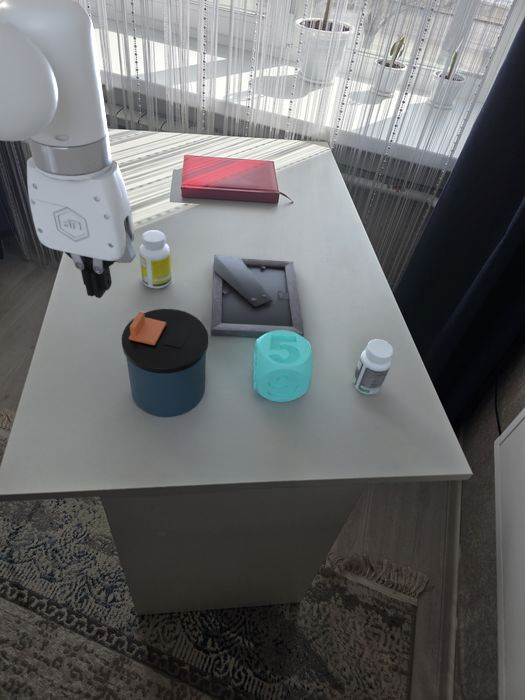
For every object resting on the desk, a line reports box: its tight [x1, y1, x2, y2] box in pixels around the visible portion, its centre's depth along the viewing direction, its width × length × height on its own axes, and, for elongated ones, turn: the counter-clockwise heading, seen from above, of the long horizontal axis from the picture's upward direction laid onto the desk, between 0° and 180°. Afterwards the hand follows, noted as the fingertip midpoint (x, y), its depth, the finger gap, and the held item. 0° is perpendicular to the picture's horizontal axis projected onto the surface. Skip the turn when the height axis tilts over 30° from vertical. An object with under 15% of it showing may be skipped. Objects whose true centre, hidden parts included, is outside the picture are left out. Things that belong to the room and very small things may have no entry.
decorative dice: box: [252, 330, 313, 403], centre depth 72 cm, size 8×8×8 cm
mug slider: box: [129, 311, 166, 346], centre depth 63 cm, size 4×4×2 cm
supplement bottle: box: [138, 229, 172, 290], centre depth 85 cm, size 5×5×10 cm
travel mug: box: [121, 308, 210, 418], centre depth 67 cm, size 12×12×11 cm
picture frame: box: [210, 254, 305, 339], centre depth 87 cm, size 16×2×21 cm
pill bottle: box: [351, 338, 395, 395], centre depth 73 cm, size 5×5×8 cm
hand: (99, 290), depth 60 cm, fingers closed
